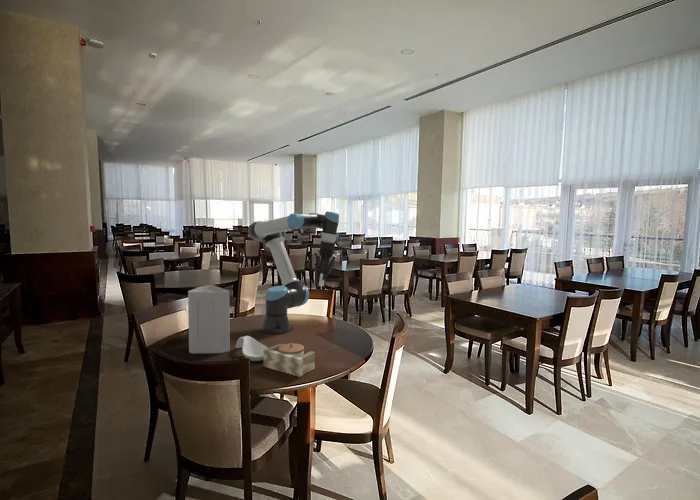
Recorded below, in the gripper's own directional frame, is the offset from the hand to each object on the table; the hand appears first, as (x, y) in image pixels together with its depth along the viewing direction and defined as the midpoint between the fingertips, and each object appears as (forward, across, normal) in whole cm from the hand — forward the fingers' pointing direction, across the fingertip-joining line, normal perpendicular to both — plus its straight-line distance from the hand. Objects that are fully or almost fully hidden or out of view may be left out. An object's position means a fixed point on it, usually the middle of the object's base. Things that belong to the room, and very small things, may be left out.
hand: (321, 285), depth 200 cm
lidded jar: (+29, -14, +39) cm, 50 cm away
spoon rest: (+31, +9, +38) cm, 50 cm away
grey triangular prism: (+34, +31, +43) cm, 63 cm away
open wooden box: (+28, -14, +41) cm, 52 cm away
